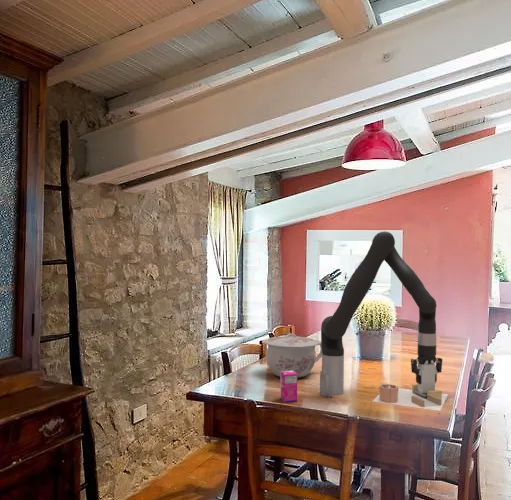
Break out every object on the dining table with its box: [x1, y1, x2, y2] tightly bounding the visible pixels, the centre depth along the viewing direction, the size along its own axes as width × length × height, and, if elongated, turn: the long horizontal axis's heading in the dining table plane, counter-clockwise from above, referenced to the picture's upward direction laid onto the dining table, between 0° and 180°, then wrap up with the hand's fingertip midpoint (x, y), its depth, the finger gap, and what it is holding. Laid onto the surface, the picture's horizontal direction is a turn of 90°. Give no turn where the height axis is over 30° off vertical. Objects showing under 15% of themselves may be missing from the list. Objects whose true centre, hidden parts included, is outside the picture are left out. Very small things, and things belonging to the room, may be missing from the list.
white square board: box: [372, 383, 449, 415], centre depth 218 cm, size 26×26×5 cm
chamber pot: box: [262, 333, 322, 379], centre depth 259 cm, size 28×28×21 cm
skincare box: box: [417, 363, 436, 393], centre depth 221 cm, size 6×4×12 cm
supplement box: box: [279, 371, 298, 403], centre depth 216 cm, size 6×6×12 cm
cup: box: [379, 383, 399, 404], centre depth 214 cm, size 7×7×6 cm
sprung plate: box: [415, 390, 427, 397], centre depth 221 cm, size 6×8×1 cm
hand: (426, 383), depth 221 cm, fingers closed on skincare box, 6 cm apart
